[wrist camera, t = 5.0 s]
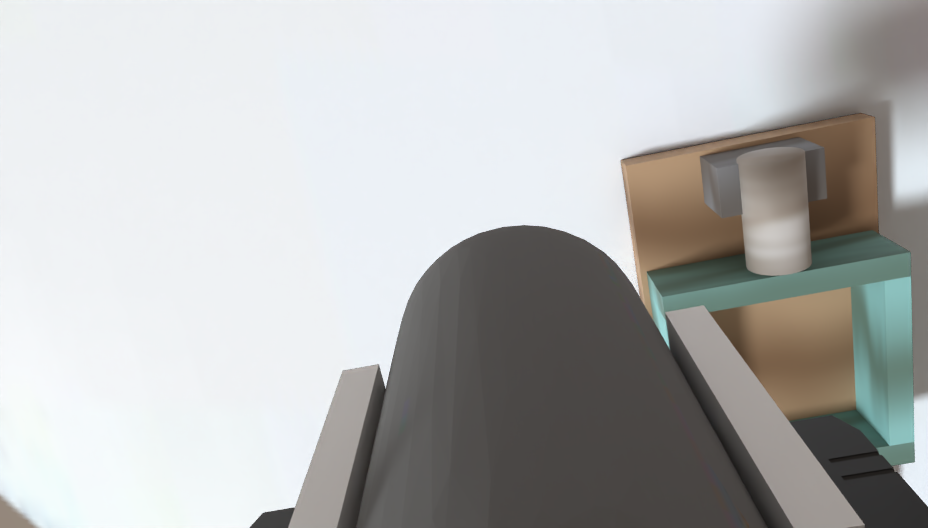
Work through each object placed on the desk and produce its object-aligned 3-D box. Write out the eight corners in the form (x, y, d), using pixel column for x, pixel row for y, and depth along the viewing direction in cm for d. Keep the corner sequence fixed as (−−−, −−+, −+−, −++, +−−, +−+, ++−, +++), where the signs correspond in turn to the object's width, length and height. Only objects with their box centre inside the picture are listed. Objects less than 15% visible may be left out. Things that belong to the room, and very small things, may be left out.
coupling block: (620, 160, 33) (643, 185, 28) (860, 112, 32) (924, 131, 27) (672, 526, 39) (698, 595, 34) (875, 494, 38) (929, 561, 33)
